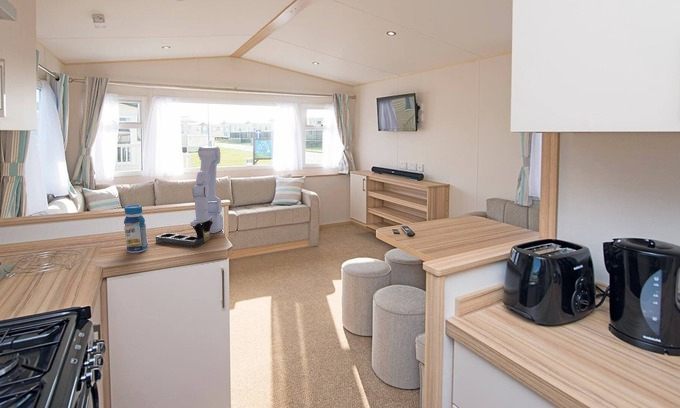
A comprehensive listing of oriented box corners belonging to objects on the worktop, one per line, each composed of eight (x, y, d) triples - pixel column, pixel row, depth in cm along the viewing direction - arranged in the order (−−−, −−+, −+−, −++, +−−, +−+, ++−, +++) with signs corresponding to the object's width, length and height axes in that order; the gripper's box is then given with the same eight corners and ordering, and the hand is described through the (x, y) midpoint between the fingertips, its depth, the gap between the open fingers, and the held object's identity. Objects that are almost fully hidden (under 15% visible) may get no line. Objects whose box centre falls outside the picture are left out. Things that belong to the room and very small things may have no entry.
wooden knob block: (202, 238, 191) (202, 230, 190) (209, 239, 190) (209, 230, 189) (197, 240, 187) (196, 232, 187) (204, 241, 186) (203, 232, 185)
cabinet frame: (166, 238, 190) (166, 232, 190) (204, 243, 183) (204, 237, 183) (156, 242, 184) (155, 236, 183) (194, 247, 177) (194, 241, 176)
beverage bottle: (151, 249, 174) (147, 205, 170) (133, 254, 167) (128, 209, 163) (141, 246, 178) (137, 203, 174) (122, 250, 171) (118, 206, 167)
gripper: (204, 206, 194) (206, 232, 196) (184, 212, 180) (186, 240, 183) (216, 207, 191) (217, 233, 194) (196, 213, 178) (198, 241, 181)
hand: (203, 237), depth 188 cm, fingers closed on wooden knob block, 4 cm apart
